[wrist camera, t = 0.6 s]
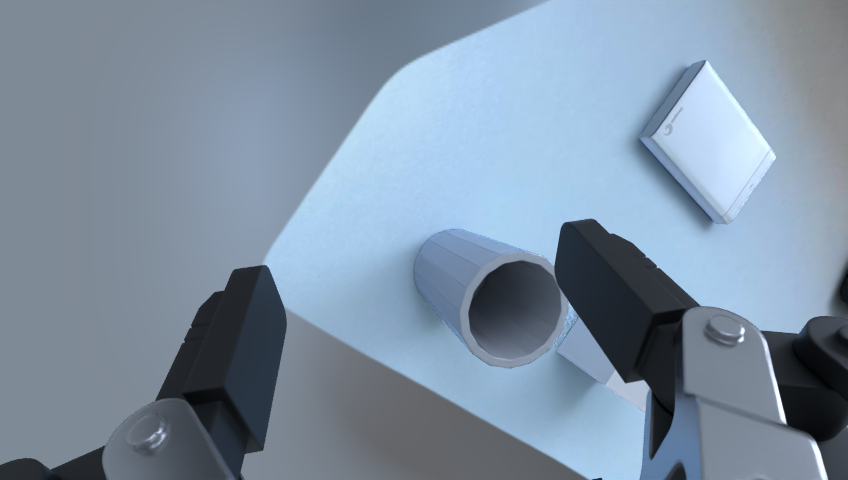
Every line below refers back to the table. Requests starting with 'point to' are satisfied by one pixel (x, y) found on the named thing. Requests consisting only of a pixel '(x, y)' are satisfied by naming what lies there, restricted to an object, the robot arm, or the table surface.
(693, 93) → the hard drive
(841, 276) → the table surface
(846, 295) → the carrying case
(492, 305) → the pot
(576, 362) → the white cube
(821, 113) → the table surface
